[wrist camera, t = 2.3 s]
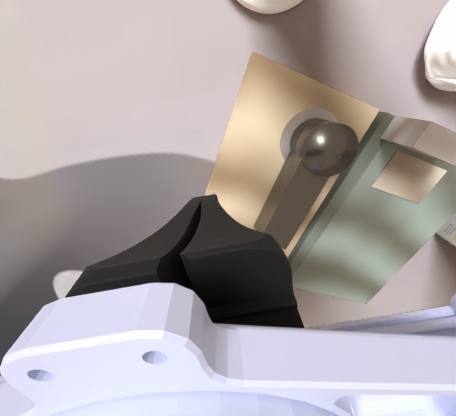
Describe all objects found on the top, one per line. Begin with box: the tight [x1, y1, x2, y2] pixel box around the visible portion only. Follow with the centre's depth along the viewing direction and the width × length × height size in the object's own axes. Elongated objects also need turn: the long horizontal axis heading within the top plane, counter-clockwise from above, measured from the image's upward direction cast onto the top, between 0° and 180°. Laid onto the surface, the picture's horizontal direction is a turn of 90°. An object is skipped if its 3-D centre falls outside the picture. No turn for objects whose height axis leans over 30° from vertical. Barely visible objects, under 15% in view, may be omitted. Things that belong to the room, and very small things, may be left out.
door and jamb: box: [205, 52, 456, 304], centre depth 18 cm, size 18×22×4 cm
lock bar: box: [252, 118, 358, 252], centre depth 16 cm, size 12×3×3 cm, turn 160°
